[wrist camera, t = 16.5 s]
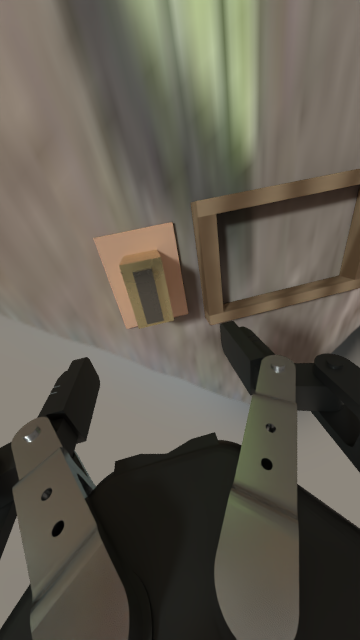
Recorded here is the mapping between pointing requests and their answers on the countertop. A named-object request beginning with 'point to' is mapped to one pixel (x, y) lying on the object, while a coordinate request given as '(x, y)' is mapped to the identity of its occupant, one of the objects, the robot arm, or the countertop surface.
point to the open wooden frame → (353, 274)
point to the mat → (138, 242)
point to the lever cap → (147, 288)
